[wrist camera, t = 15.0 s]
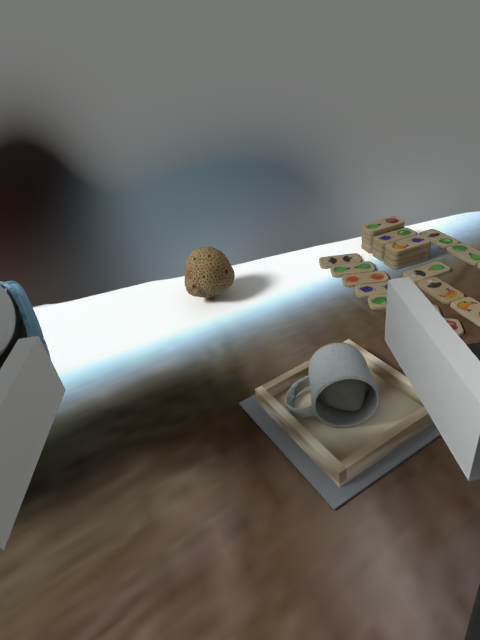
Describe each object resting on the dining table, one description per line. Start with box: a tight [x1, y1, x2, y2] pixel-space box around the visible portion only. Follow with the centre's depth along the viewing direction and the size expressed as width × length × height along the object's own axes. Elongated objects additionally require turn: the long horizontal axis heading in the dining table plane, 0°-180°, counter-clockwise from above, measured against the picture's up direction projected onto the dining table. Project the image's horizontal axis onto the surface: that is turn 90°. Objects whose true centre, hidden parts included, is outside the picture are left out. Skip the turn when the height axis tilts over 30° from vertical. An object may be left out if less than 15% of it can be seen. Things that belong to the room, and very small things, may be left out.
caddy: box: [255, 339, 434, 488], centre depth 54 cm, size 16×16×2 cm
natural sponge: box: [185, 247, 234, 298], centre depth 80 cm, size 9×9×10 cm
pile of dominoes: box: [319, 216, 480, 336], centre depth 77 cm, size 35×27×6 cm
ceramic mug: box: [285, 342, 380, 427], centre depth 53 cm, size 11×8×8 cm
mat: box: [239, 394, 441, 510], centre depth 55 cm, size 19×20×1 cm
